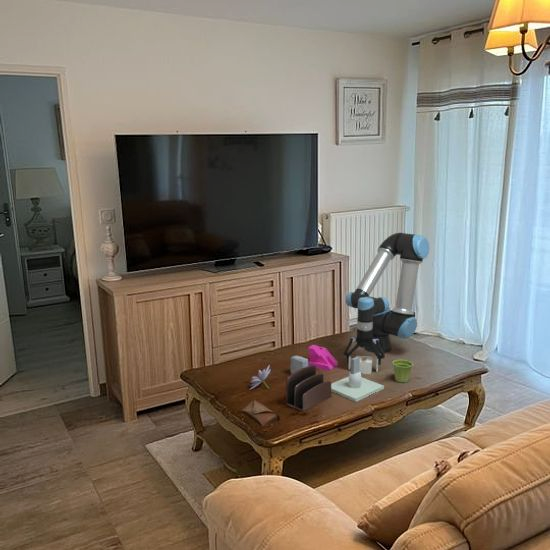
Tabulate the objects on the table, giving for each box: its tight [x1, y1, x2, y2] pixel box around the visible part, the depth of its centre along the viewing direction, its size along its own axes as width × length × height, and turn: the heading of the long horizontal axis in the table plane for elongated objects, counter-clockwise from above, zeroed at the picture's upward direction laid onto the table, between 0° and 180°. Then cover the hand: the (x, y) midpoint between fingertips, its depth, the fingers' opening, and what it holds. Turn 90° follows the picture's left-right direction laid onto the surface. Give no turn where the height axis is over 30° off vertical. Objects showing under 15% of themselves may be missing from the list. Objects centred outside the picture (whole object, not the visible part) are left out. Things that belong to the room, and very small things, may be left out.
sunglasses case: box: [240, 399, 281, 427], centre depth 235 cm, size 18×7×7 cm, turn 37°
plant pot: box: [392, 359, 414, 383], centre depth 268 cm, size 9×9×9 cm
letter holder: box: [285, 365, 333, 412], centre depth 247 cm, size 10×20×14 cm, turn 137°
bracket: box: [307, 344, 339, 372], centre depth 287 cm, size 12×10×10 cm
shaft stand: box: [331, 356, 385, 403], centre depth 258 cm, size 20×18×15 cm
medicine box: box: [290, 355, 309, 375], centre depth 275 cm, size 8×4×9 cm, turn 47°
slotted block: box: [355, 355, 373, 375], centre depth 280 cm, size 8×8×6 cm
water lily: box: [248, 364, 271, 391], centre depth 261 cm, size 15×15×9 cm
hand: (363, 369), depth 281 cm, fingers open, 13 cm apart
